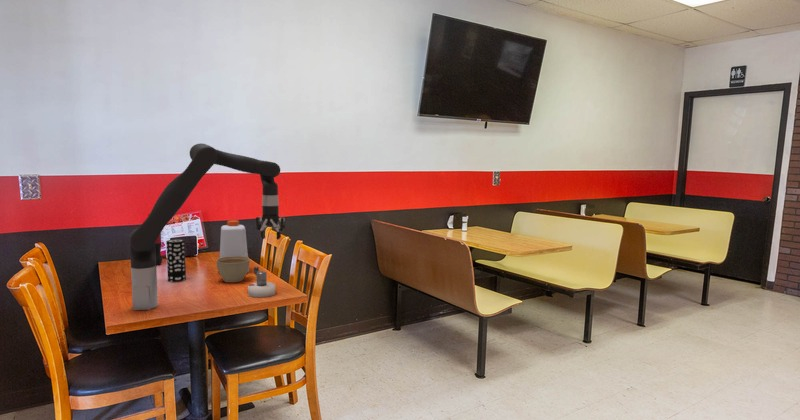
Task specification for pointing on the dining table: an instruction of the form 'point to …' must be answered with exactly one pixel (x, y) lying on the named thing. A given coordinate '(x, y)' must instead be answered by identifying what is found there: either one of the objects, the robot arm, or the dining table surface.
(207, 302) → the dining table surface
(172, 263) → the spotted tube
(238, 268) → the planter bowl
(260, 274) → the capstan lever
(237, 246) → the plastic bottle
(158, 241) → the cola bottle
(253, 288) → the stand
